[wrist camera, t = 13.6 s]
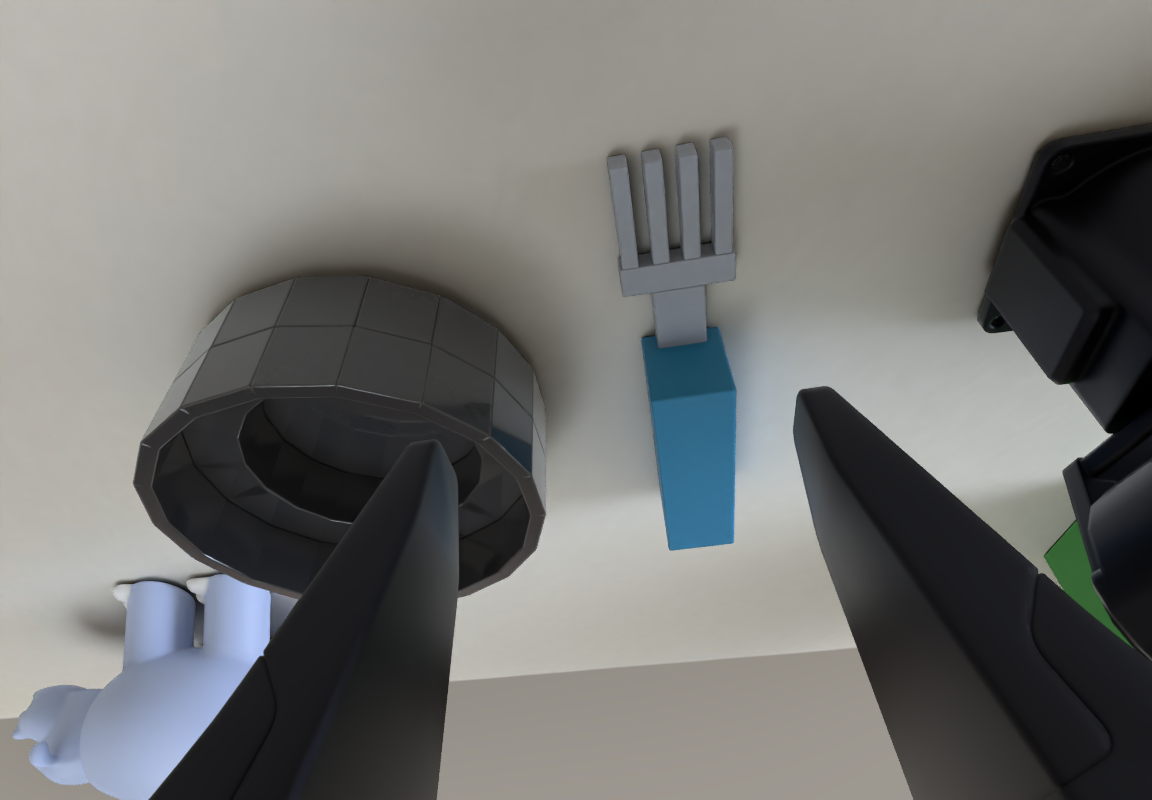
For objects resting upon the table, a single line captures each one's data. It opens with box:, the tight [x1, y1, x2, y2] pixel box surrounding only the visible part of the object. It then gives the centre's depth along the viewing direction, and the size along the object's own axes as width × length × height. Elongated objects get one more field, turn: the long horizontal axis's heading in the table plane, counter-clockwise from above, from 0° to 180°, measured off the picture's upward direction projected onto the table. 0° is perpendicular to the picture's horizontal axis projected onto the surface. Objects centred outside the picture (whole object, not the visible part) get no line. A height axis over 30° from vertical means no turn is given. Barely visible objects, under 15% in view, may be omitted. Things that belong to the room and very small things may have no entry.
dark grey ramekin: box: [133, 276, 546, 599], centre depth 22 cm, size 12×12×5 cm
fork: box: [607, 137, 736, 550], centre depth 22 cm, size 16×3×3 cm, turn 10°
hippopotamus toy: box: [12, 574, 271, 800], centre depth 33 cm, size 11×15×10 cm
